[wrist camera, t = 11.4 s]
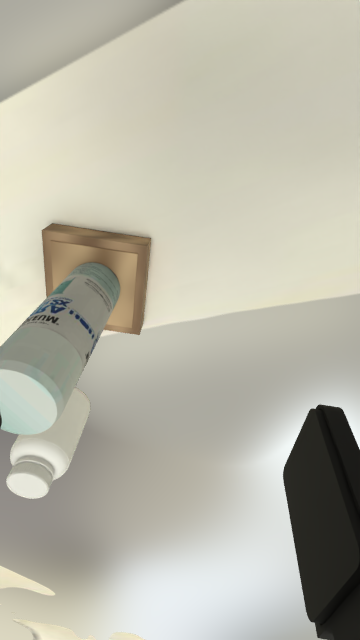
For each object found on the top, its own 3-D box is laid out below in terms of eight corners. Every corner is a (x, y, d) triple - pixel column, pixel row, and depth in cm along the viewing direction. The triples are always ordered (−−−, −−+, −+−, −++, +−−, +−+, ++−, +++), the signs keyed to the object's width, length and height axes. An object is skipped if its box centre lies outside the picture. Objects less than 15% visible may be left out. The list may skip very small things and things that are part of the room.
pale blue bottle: (92, 318, 43) (16, 447, 26) (57, 278, 41) (-53, 390, 24) (132, 294, 41) (78, 417, 24) (98, 250, 39) (10, 351, 21)
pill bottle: (93, 421, 57) (60, 508, 44) (46, 416, 57) (0, 501, 44) (91, 385, 53) (54, 469, 40) (40, 380, 53) (-13, 462, 40)
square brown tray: (151, 238, 41) (147, 247, 38) (143, 323, 47) (139, 335, 44) (52, 223, 41) (41, 230, 38) (56, 310, 47) (47, 321, 44)
